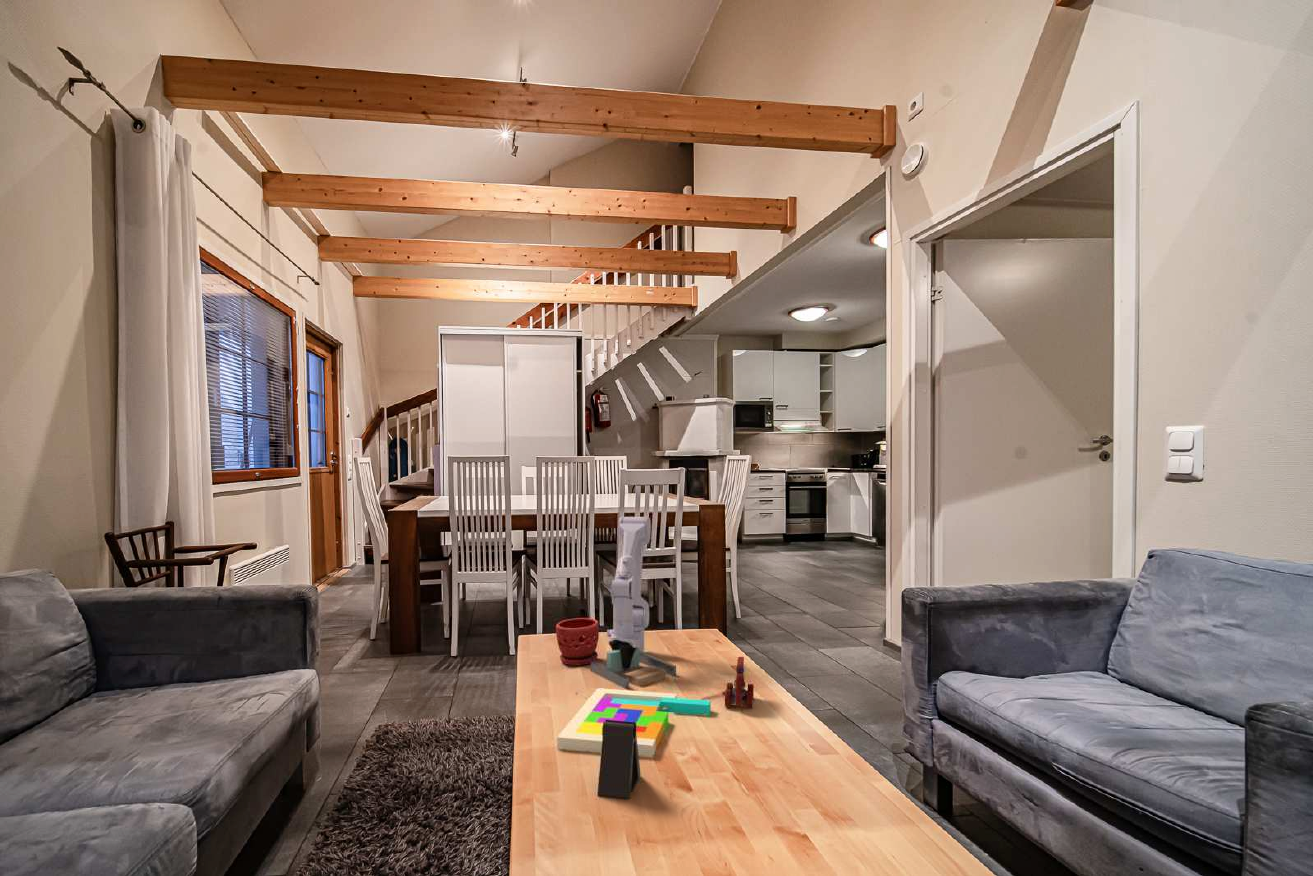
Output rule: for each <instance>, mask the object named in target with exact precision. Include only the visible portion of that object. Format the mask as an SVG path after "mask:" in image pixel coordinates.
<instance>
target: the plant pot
mask: <svg viewBox="0 0 1313 876" xmlns="http://www.w3.org/2000/svg"><path fill="white" fill-rule="evenodd" d="M599 626H600V625H599V621H598V620H597V619H593V618H588V617H579V618H577V617H575V618H571V619H565V620H562V621H559V622H558V623H557V624H556V626H555V630H556V631H555V632H556V635H555V636H556V641H557V646H558V649H559V652H560V653H561V654H560V656H559V659H560V661H561V662H562V664H565V665H569V666H575V667H577V666H584V665H588V664H591V662H592V661H595V662H596V660H597V659H598V655H599V652H597V651H596V650H597V647H598V643H599V635H600V634H599V632H600V631H599V630H600V627H599Z"/></svg>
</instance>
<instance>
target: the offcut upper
mask: <svg viewBox="0 0 1313 876" xmlns="http://www.w3.org/2000/svg"><path fill="white" fill-rule="evenodd" d="M624 676H626V677H629V684H631V685H633V686H636V687H641V686H642V687H643V686H645V685H648V684H650V683H654V682H657V681H661V680H665V679H666V678H667V674H666V670H663V669H660V668H657V667H654V666H646V667H642V668H639V669H635V670H633V671H629V672H626V673H624ZM664 678H665V679H664Z"/></svg>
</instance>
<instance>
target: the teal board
mask: <svg viewBox="0 0 1313 876" xmlns="http://www.w3.org/2000/svg"><path fill="white" fill-rule="evenodd" d="M606 667H608V668H610V669H612V670H614V671H616V672H618V673H619V672H621V671H626V670H631V669H633V668H639V667H640V662H639V647H637V648H636V650H635V652H634V655H633V658H632V661H631V666H630V668H628V669H623V667H622V657H621V652H620V649H618V650H613V651H612V650H610V651H606Z"/></svg>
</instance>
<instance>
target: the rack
mask: <svg viewBox="0 0 1313 876" xmlns="http://www.w3.org/2000/svg"><path fill="white" fill-rule="evenodd" d="M639 663H640V664H642V665H643V664H644V665H646V666H647V667H649V666H654V667H657V668H660V669H663V670H666V675H668V676H670V677H677V665H675V664H672V663H670V662H667V661H664V659H663V660H662V659H660V658H658V657H655V656H653V655H650V654H648V653H645V652H644V653H643V652H641V651H639ZM590 672H591V673H594V674H596V675H597V676H600V677H601V678H603V679H605V680H607V681H609V682H610V683H613V684H614V685H617V686H619V687H621V688H622V689H623V690H628V689H630V683H629V677H626V676H625V674H623V673H620V672H619V671H618V672H616V671H614V670H612V669H610V668H608V667H607V665H604V664H602V663H599V662H597V661H596V660H595V661H592V662H591V663H590Z"/></svg>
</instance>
